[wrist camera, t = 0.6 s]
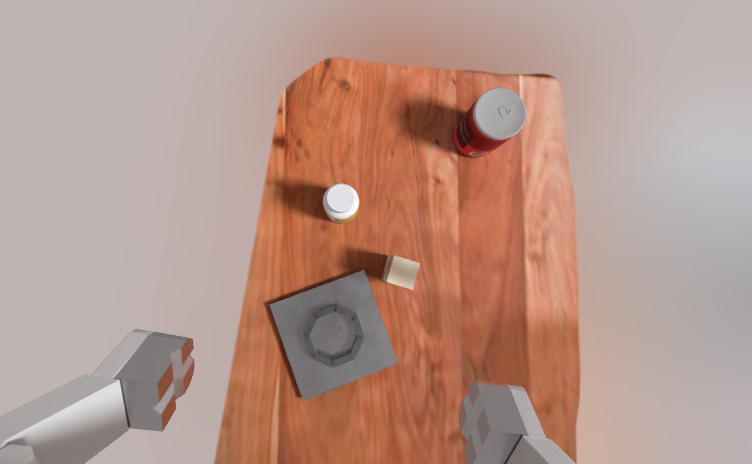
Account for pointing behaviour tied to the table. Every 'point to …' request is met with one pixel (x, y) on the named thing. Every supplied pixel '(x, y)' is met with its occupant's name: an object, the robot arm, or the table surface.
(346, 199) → the supplement bottle
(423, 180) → the table surface
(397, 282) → the birch block
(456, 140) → the canned food
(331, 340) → the grey square socket board
